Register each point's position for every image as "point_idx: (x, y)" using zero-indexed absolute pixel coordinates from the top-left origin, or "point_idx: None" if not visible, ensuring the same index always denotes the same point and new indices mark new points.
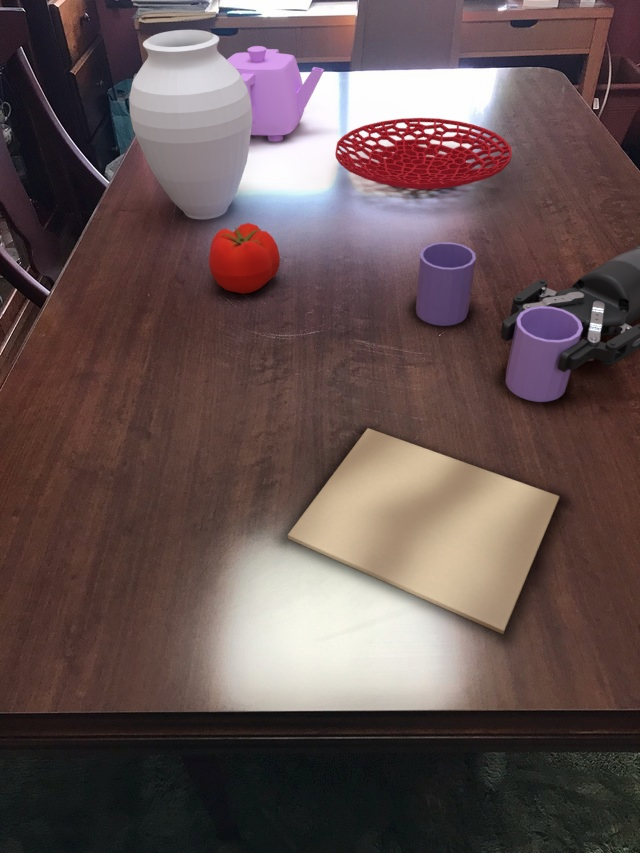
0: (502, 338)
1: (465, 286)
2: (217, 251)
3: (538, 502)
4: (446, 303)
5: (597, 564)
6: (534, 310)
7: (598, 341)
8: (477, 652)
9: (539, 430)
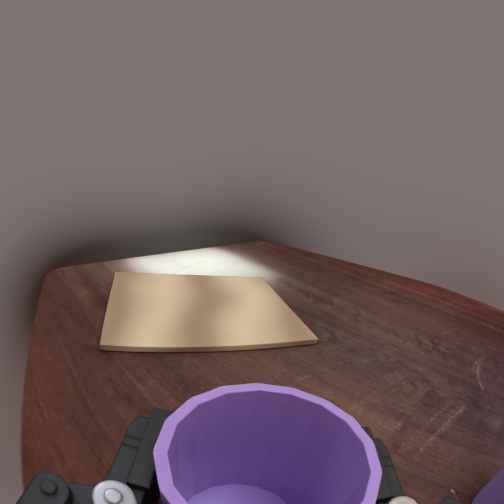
0: None
1: None
2: None
3: (118, 333)
4: (502, 475)
5: (60, 313)
6: (366, 485)
7: (94, 488)
8: (125, 269)
9: None
